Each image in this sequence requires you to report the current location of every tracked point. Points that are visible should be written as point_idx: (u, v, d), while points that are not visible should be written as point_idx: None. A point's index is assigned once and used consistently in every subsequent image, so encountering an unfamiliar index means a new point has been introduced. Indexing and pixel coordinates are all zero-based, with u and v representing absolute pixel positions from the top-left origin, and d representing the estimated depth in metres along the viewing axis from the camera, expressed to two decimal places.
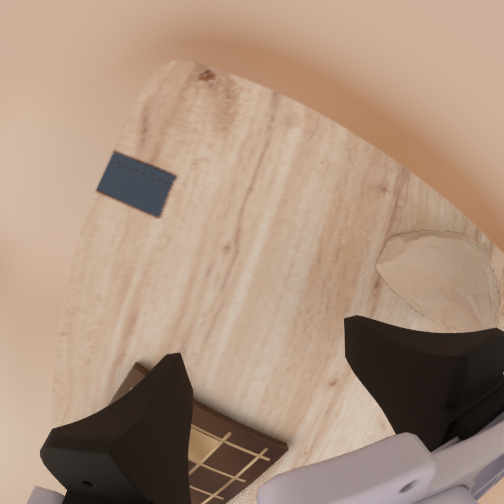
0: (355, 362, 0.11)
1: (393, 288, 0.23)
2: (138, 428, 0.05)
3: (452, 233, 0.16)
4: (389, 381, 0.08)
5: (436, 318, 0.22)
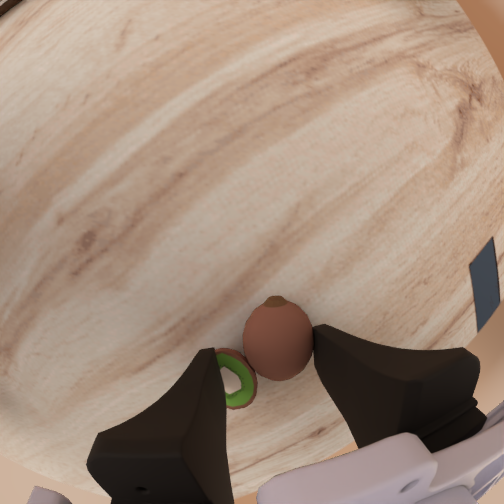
0: (322, 372, 0.11)
1: None
2: (195, 424, 0.06)
3: None
4: (350, 395, 0.08)
5: None
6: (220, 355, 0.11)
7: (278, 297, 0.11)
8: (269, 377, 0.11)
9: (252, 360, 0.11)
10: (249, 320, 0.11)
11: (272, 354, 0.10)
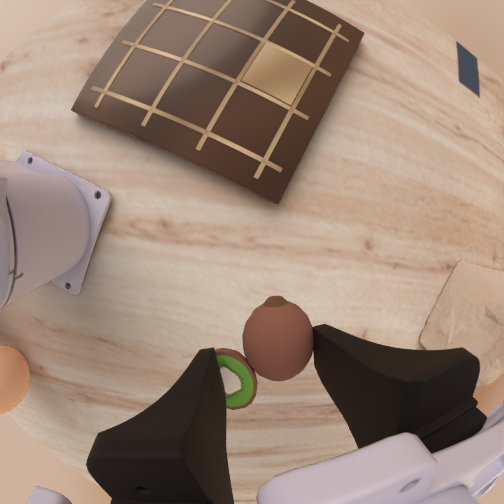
0: (322, 372, 0.11)
1: (449, 284, 0.21)
2: (195, 424, 0.06)
3: None
4: (350, 395, 0.08)
5: (430, 345, 0.21)
6: (219, 355, 0.11)
7: (278, 297, 0.11)
8: (269, 377, 0.11)
9: (252, 360, 0.11)
10: (249, 320, 0.11)
11: (272, 354, 0.10)
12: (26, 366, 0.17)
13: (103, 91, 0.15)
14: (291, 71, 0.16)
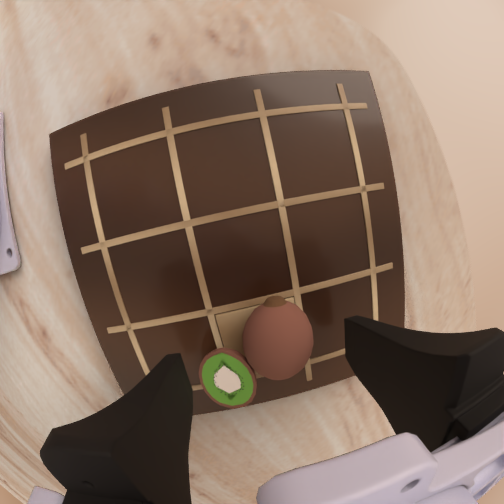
0: (355, 362, 0.11)
1: None
2: (138, 428, 0.05)
3: None
4: (389, 381, 0.08)
5: None
6: (220, 354, 0.12)
7: (277, 297, 0.11)
8: (268, 376, 0.11)
9: (252, 359, 0.11)
10: (249, 320, 0.11)
11: (271, 353, 0.10)
12: None
13: (85, 156, 0.11)
14: None
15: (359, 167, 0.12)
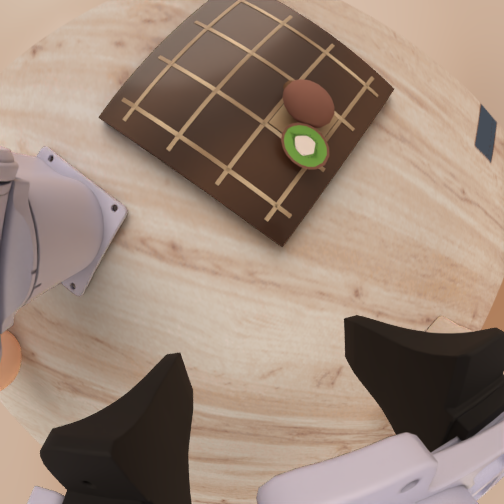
0: (355, 362, 0.11)
1: None
2: (138, 428, 0.05)
3: None
4: (389, 381, 0.08)
5: None
6: (287, 130, 0.17)
7: (287, 81, 0.16)
8: (320, 119, 0.16)
9: (303, 114, 0.16)
10: (284, 100, 0.16)
11: (307, 100, 0.15)
12: (19, 351, 0.18)
13: (133, 106, 0.16)
14: None
15: (272, 17, 0.16)
